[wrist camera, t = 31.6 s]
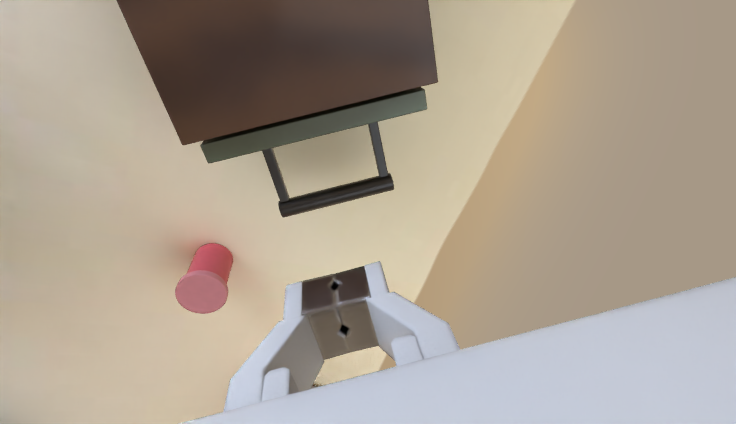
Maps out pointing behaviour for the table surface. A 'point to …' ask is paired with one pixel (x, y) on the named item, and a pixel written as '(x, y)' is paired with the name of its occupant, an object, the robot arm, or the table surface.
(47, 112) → the table surface
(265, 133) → the drawer
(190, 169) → the table surface
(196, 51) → the cabinet
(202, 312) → the red short cylinder
